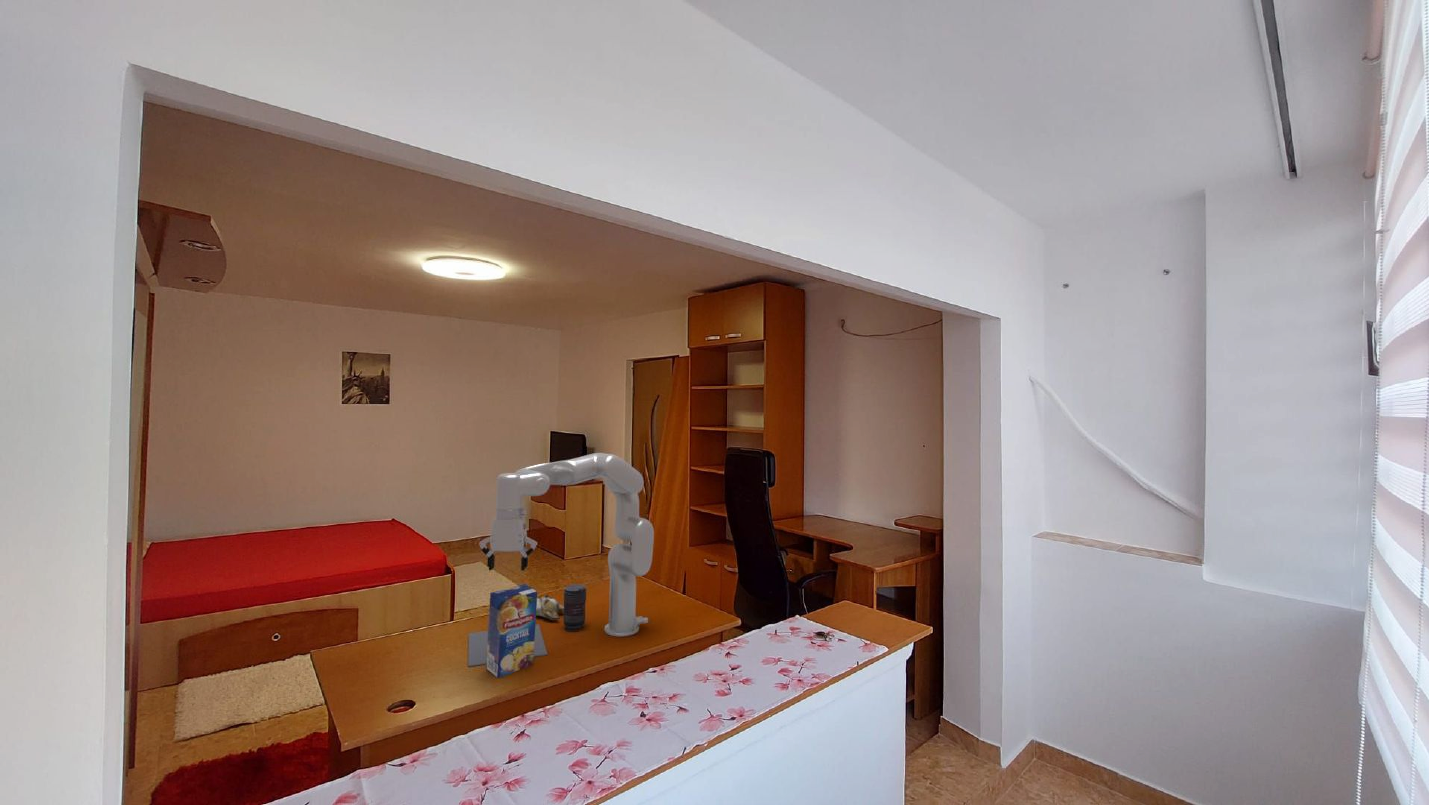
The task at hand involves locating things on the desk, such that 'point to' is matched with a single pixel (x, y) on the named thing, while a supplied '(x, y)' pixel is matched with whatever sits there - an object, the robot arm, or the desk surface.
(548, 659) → the desk surface
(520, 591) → the juice carton
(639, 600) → the desk surface
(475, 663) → the mat
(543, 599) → the ceramic sculpture
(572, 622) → the camera lens
